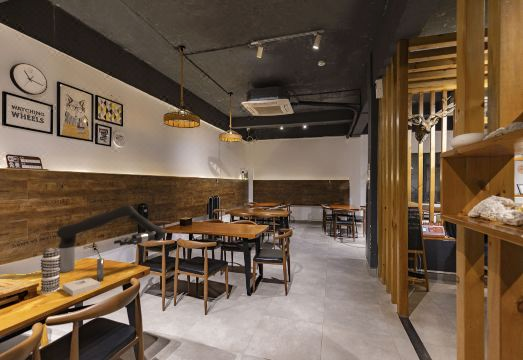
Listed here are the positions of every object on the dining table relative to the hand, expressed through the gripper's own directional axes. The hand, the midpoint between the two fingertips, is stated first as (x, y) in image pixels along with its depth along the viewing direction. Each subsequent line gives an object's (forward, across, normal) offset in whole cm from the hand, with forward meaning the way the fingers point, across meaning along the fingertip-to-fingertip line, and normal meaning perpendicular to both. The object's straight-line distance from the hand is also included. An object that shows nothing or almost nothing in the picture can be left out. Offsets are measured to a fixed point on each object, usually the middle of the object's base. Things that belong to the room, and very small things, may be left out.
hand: (117, 243), depth 169 cm
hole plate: (+23, +4, +22) cm, 32 cm away
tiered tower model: (+34, -8, +22) cm, 42 cm away
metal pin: (+11, 0, +22) cm, 25 cm away
